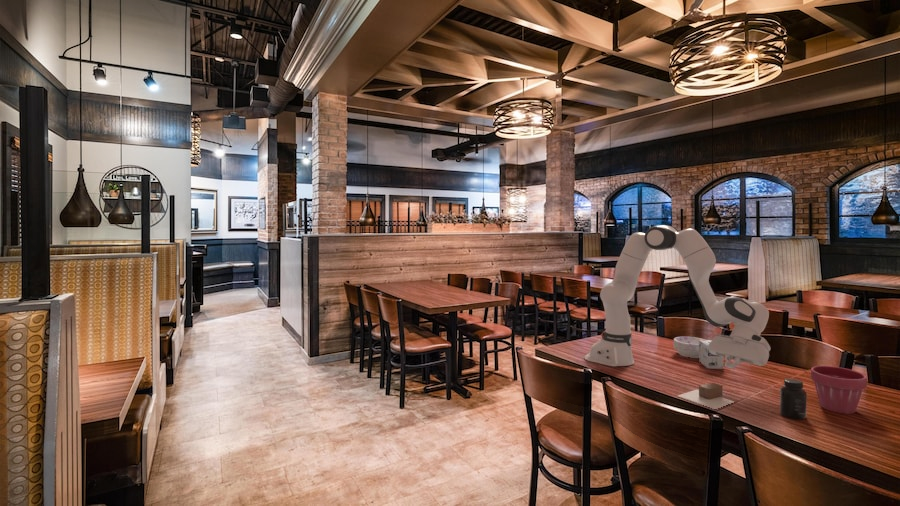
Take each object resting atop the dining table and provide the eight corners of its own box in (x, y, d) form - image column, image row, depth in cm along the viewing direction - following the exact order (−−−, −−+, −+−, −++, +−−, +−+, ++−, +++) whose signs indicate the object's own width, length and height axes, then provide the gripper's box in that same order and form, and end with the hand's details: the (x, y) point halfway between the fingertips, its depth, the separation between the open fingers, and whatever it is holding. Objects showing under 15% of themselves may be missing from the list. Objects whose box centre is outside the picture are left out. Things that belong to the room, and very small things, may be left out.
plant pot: (852, 420, 135) (853, 381, 135) (801, 404, 148) (802, 369, 148) (874, 412, 141) (875, 374, 140) (824, 397, 154) (824, 363, 153)
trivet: (696, 390, 163) (696, 389, 163) (734, 402, 151) (735, 401, 151) (677, 396, 158) (677, 395, 158) (715, 410, 146) (715, 408, 146)
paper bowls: (696, 362, 198) (696, 345, 198) (666, 354, 212) (666, 338, 211) (715, 357, 205) (715, 341, 205) (685, 349, 219) (685, 334, 218)
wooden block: (712, 392, 160) (698, 396, 157) (712, 382, 160) (698, 385, 157) (723, 396, 156) (708, 399, 153) (723, 385, 156) (708, 389, 153)
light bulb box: (724, 369, 187) (724, 345, 186) (707, 368, 188) (707, 345, 188) (714, 362, 197) (714, 339, 197) (698, 361, 199) (698, 339, 198)
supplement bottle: (774, 412, 143) (774, 377, 142) (793, 410, 143) (793, 376, 143) (792, 421, 136) (793, 384, 135) (812, 419, 137) (812, 383, 136)
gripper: (713, 328, 173) (698, 355, 169) (769, 339, 155) (754, 370, 151) (719, 338, 175) (705, 364, 171) (775, 349, 157) (761, 379, 153)
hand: (728, 367), depth 161 cm, fingers closed
